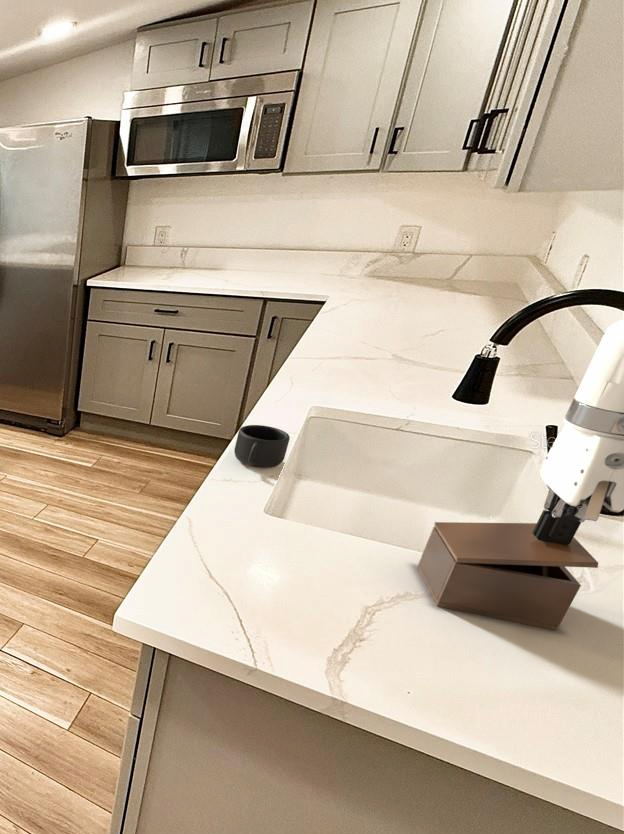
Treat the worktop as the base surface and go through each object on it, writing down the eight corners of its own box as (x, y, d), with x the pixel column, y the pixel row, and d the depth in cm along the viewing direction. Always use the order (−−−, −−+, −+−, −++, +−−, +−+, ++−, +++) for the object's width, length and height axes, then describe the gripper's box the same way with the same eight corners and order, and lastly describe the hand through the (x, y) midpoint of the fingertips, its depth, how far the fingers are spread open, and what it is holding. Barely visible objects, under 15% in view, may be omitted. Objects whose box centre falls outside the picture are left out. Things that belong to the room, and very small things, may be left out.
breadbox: (524, 587, 93) (546, 544, 89) (556, 630, 84) (581, 585, 81) (416, 567, 98) (433, 526, 95) (436, 606, 90) (455, 562, 87)
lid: (560, 528, 88) (561, 523, 88) (597, 567, 80) (598, 562, 80) (434, 526, 95) (434, 522, 95) (456, 562, 87) (457, 557, 87)
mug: (239, 450, 139) (246, 421, 136) (286, 461, 133) (294, 431, 130) (222, 468, 132) (229, 438, 129) (272, 481, 126) (280, 450, 123)
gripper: (695, 445, 70) (618, 576, 77) (623, 402, 82) (562, 519, 89) (599, 436, 73) (535, 562, 81) (543, 395, 85) (492, 508, 93)
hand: (550, 539), depth 85 cm, fingers closed
